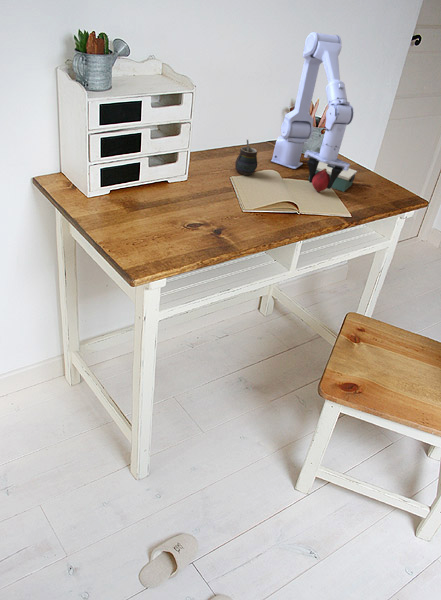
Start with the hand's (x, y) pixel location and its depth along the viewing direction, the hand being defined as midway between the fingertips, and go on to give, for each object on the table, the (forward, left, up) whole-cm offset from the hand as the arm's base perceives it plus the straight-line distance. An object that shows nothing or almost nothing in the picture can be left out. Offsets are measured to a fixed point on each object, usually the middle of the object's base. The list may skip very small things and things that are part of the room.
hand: (320, 184), depth 180 cm
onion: (0, 0, -3) cm, 3 cm away
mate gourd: (-25, -6, -3) cm, 25 cm away
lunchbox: (0, +12, -2) cm, 12 cm away
